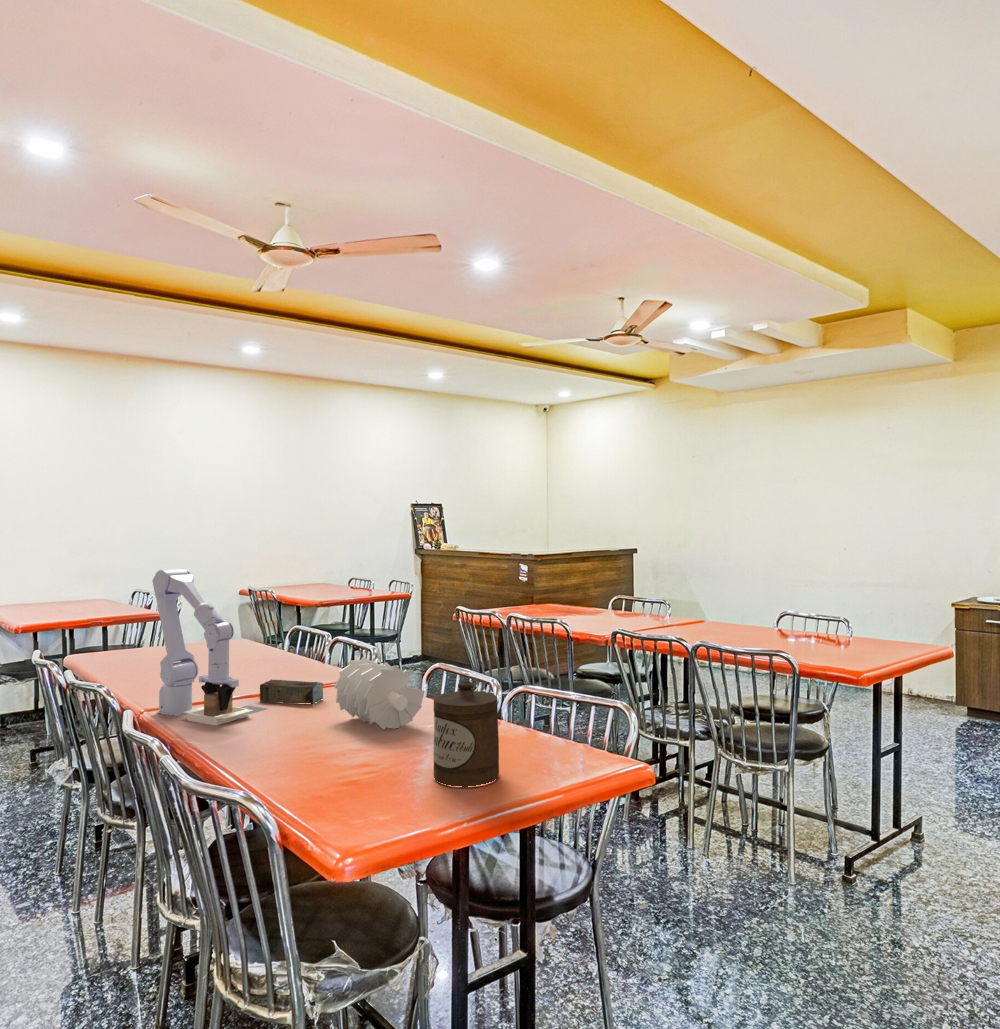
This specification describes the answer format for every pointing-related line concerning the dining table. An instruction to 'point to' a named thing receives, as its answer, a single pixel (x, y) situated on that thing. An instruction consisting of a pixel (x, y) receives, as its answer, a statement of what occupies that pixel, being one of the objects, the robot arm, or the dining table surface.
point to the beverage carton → (291, 691)
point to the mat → (254, 709)
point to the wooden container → (466, 737)
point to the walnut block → (215, 705)
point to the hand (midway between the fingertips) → (218, 709)
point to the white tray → (199, 716)
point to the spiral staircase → (377, 693)
